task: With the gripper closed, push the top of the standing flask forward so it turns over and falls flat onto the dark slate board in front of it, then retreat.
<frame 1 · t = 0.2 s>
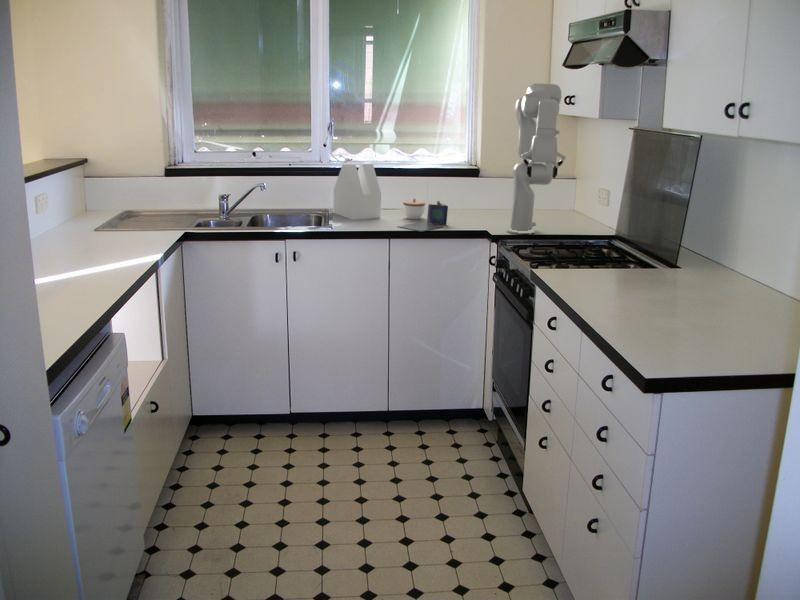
hand: (541, 177, 321), 31 cm above the counter, tool pointing down, fingers open, 9 cm apart
flask: (436, 224, 382), on the counter, touching slate board
grey notched block: (356, 215, 397), on the counter
lidded jar: (413, 218, 396), on the counter
slate board: (421, 227, 374), on the counter
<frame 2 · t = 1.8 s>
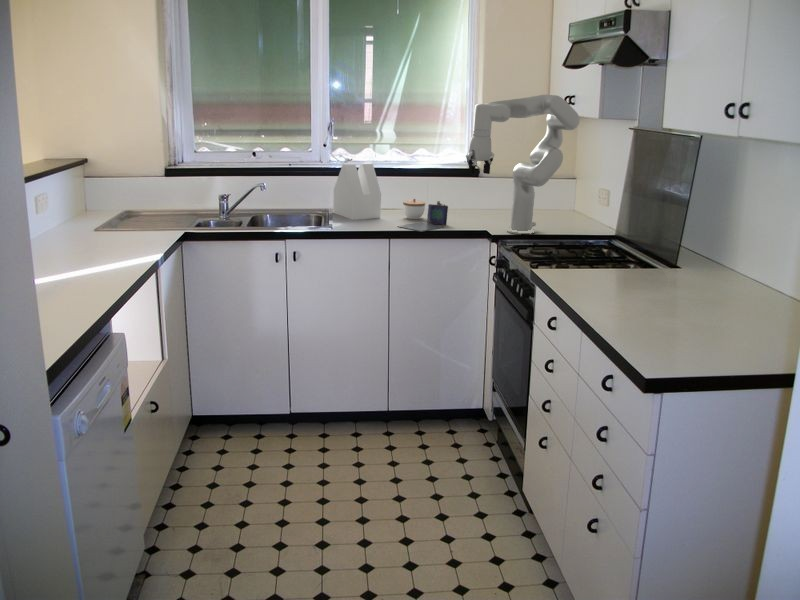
hand: (479, 174, 351), 27 cm above the counter, tool pointing down, fingers open, 9 cm apart
nothing on the counter moved.
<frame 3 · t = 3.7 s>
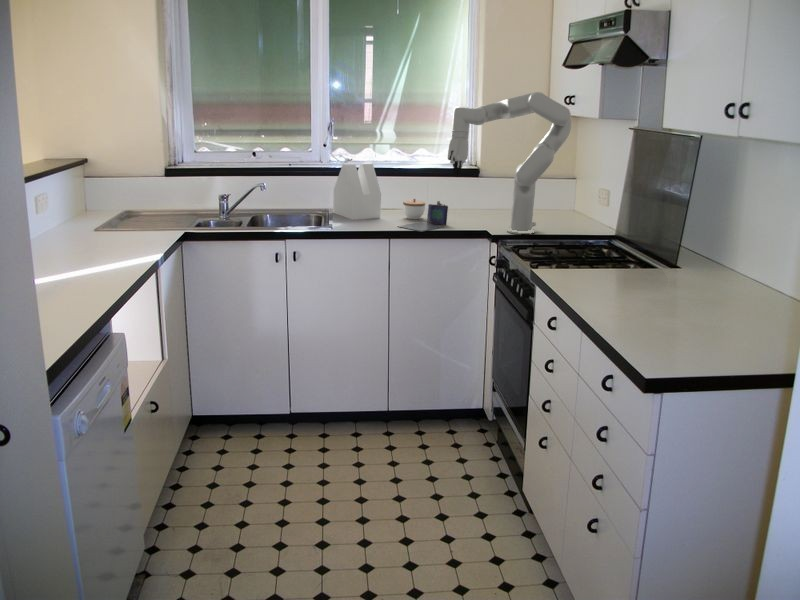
hand: (456, 176, 369), 24 cm above the counter, tool pointing down, fingers closed
nothing on the counter moved.
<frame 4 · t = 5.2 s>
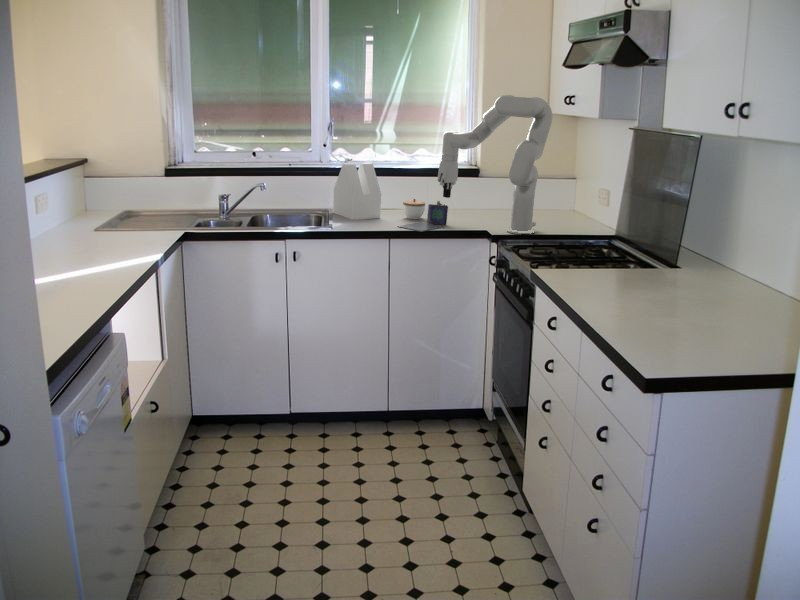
hand: (446, 197, 385), 12 cm above the counter, tool pointing down, fingers closed
nothing on the counter moved.
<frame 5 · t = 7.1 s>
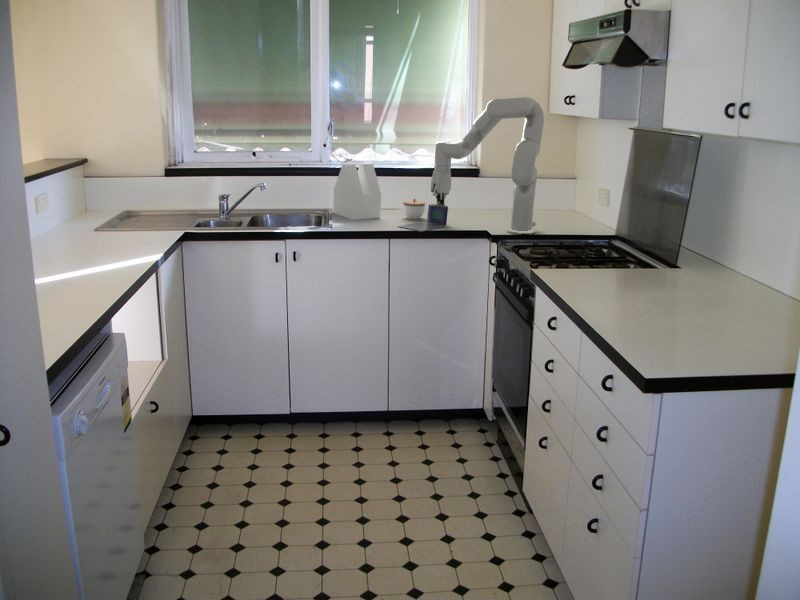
hand: (440, 207, 382), 8 cm above the counter, tool pointing down, fingers closed
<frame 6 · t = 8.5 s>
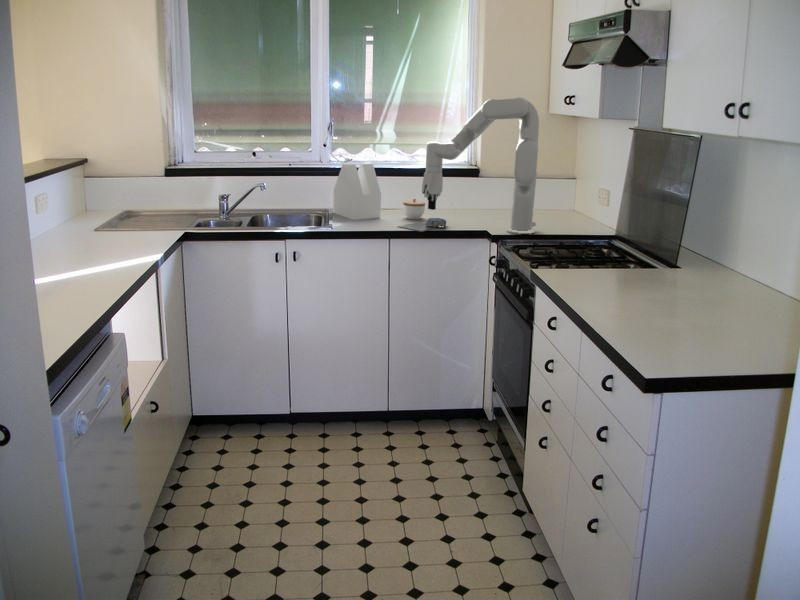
hand: (431, 209, 377), 8 cm above the counter, tool pointing down, fingers closed
flask: (436, 221, 381), point 2 cm above the counter, touching slate board
everything else where it was.
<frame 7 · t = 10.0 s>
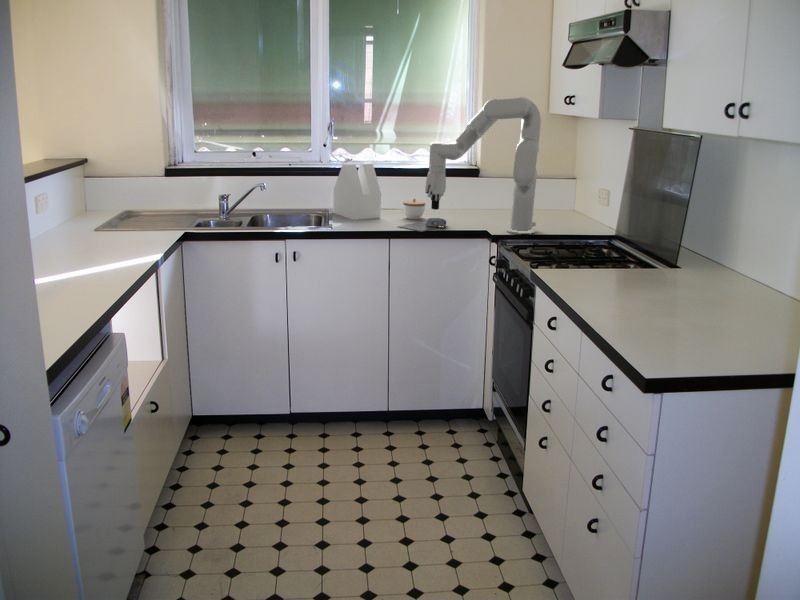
hand: (435, 208, 379), 7 cm above the counter, tool pointing down, fingers closed
nothing on the counter moved.
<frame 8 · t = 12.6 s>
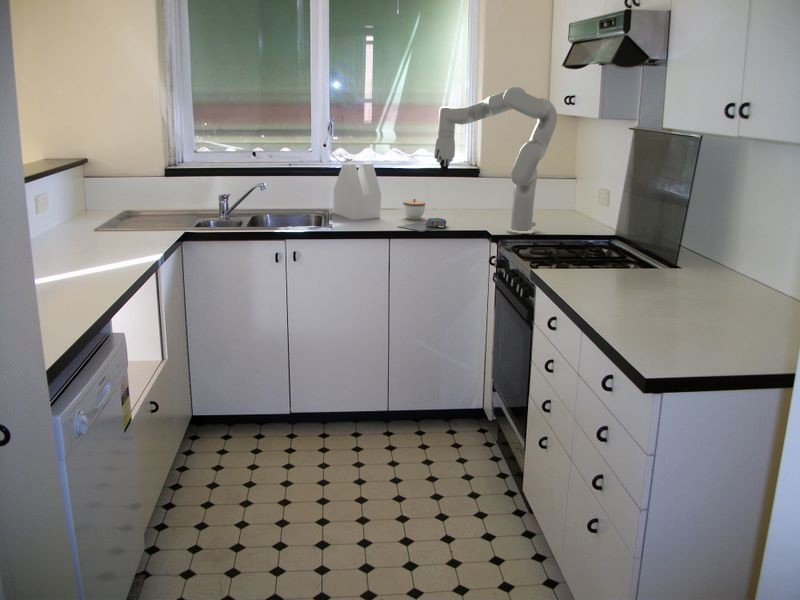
hand: (443, 174, 379), 23 cm above the counter, tool pointing down, fingers closed
nothing on the counter moved.
at the end: flask tilted 89°; flask inside the target area (11.5 cm from its centre), point 1.7 cm above the counter; flask moved 2.1 cm from its start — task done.
